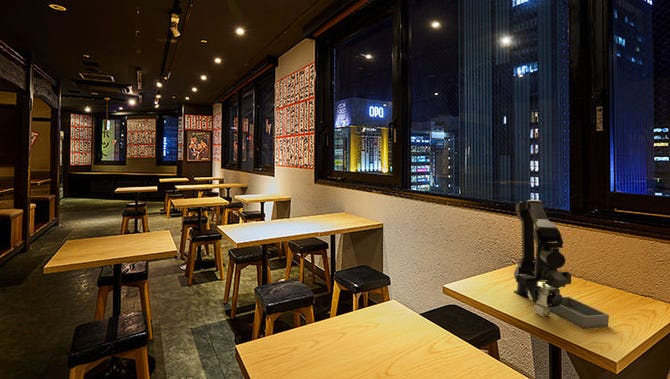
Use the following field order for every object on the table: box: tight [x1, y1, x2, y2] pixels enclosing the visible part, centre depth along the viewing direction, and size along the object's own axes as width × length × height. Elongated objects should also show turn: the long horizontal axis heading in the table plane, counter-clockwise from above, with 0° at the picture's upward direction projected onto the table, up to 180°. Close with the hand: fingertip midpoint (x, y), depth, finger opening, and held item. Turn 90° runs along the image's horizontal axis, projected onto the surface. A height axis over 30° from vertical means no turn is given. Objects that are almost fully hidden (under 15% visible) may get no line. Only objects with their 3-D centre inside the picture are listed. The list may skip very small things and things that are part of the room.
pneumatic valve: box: [525, 282, 564, 318], centre depth 125 cm, size 6×12×12 cm, turn 19°
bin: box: [549, 296, 610, 329], centre depth 124 cm, size 16×10×4 cm, turn 11°
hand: (542, 301), depth 125 cm, fingers closed on pneumatic valve, 6 cm apart
